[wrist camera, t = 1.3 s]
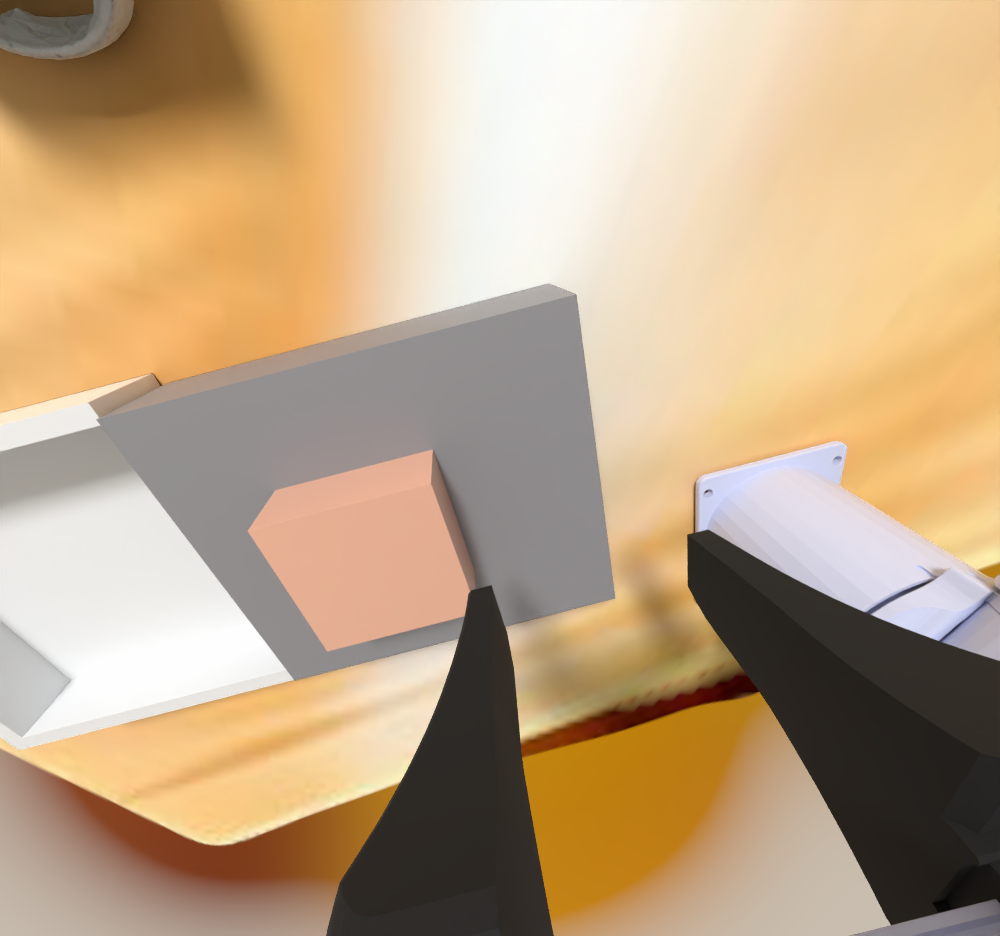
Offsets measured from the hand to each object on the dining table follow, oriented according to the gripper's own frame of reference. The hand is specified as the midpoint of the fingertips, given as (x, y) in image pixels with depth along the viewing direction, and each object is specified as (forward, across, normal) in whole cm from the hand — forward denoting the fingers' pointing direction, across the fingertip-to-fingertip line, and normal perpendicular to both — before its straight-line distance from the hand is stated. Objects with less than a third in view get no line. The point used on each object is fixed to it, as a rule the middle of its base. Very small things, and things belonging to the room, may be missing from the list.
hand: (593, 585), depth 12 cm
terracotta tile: (+5, +7, 0) cm, 9 cm away
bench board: (+9, +6, 0) cm, 11 cm away
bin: (+9, +22, 0) cm, 23 cm away
